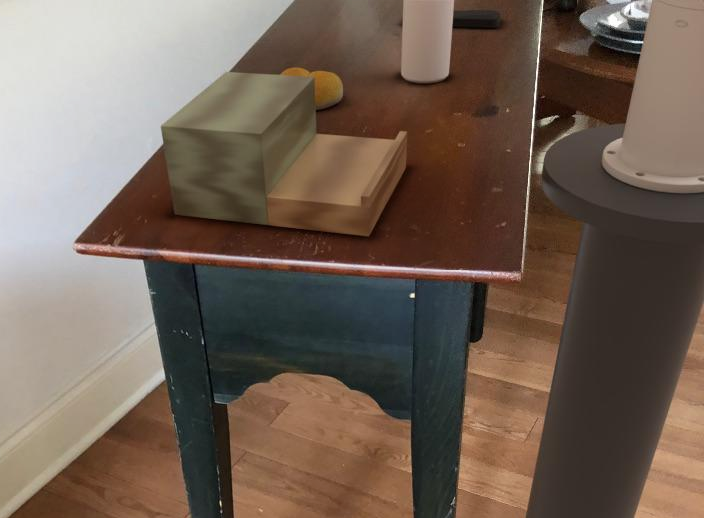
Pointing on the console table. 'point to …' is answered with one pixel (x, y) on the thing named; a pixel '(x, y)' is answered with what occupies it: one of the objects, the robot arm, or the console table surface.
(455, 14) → the remote control
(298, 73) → the bread roll
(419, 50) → the can
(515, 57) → the console table surface
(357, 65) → the console table surface
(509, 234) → the console table surface
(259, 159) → the green block on base
